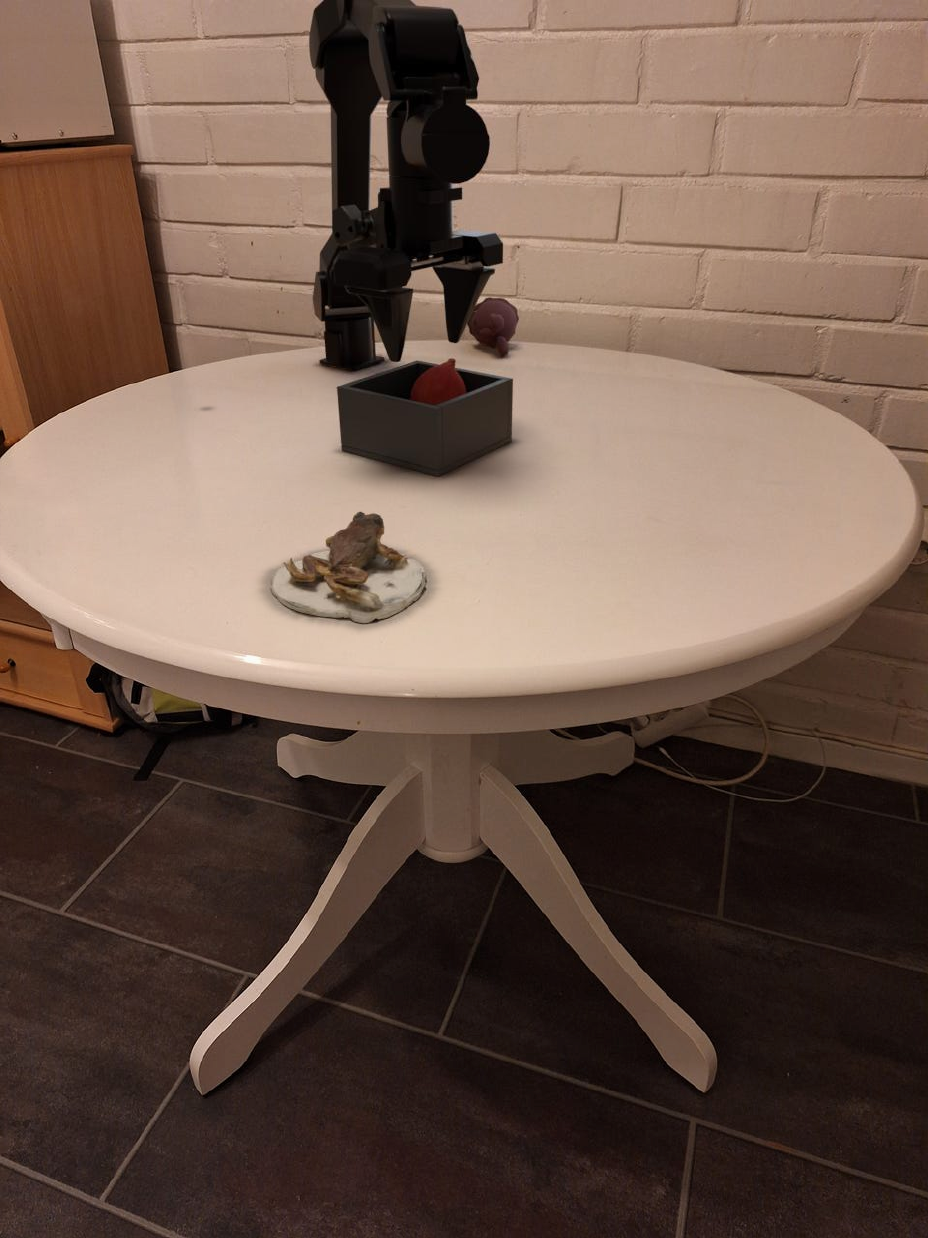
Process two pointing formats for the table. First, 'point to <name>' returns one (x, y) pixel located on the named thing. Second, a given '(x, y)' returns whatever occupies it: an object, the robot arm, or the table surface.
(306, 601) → the frog figurine
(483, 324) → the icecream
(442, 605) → the table surface
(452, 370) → the onion
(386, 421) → the bin
